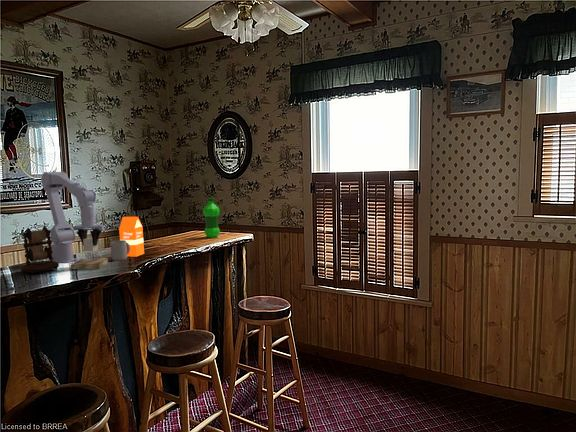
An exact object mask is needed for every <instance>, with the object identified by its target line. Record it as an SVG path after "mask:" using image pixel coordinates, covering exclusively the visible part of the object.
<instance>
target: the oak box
mask: <svg viewBox="0 0 576 432" xmlns="http://www.w3.org/2000/svg"><path fill="white" fill-rule="evenodd" d="M108 261H109V260H108V257H97V258H95V257H94V258H81V259H79V260H76V262H74V263H72V264H71V265H70V266H71V270H72V269H88V270H100V269H101V267H102V268H103V267H104V266H106V265H107V264H108V263H109V262H108Z"/></svg>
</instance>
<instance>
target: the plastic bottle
mask: <svg viewBox="0 0 576 432" xmlns="http://www.w3.org/2000/svg"><path fill="white" fill-rule="evenodd" d="M206 199H207V204H206V205H205V206H204V207H203V209H202V214H203V215H204V218H205V228H204V230H203V231H204V234H205V236H206V237H207V238H208V239H216V238H217V237H218V236H220V234H221V229H220V228H219V215H220V211H221V210H220V207H219V206H217V204H215V203H214V202H215V198H214V197H207V198H206Z"/></svg>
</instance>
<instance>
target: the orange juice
mask: <svg viewBox="0 0 576 432" xmlns="http://www.w3.org/2000/svg"><path fill="white" fill-rule="evenodd" d="M118 229H119V230H118V231H119V240H125V241H126V242H127V243H128V244H129V245H130V252H129V254H128V255H127V257H139V256H141V255H145V247H144V244H145V243H144V242H145V241H144V231H143V230H144V229H143V225H142V223H141V220H140V218H139V216H122V219H121V221H120V225H119V228H118ZM126 249H127V247H126Z"/></svg>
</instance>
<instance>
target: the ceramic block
mask: <svg viewBox="0 0 576 432" xmlns="http://www.w3.org/2000/svg"><path fill="white" fill-rule="evenodd" d="M83 245H84V246H83ZM82 246H83V251H84V252H94V251H97V250H99V241H98V242H97V245H96V246H93V241H92V237H87V238H86V239H83V244H82Z"/></svg>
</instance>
